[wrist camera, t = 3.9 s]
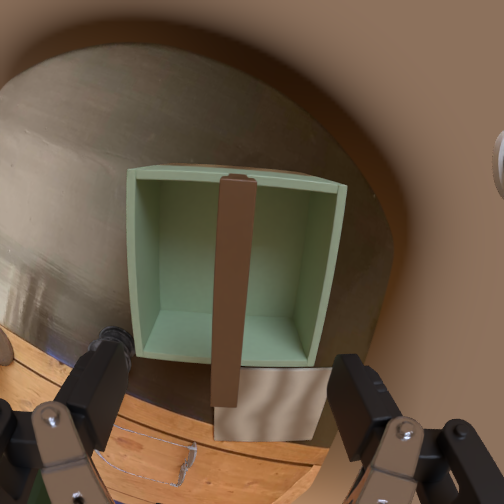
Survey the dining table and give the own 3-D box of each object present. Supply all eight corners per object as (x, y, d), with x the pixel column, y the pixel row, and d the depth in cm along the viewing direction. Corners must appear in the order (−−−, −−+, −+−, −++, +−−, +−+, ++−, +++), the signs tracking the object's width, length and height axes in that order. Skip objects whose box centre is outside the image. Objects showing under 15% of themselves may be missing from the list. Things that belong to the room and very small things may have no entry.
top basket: (317, 176, 24) (379, 195, 13) (296, 320, 28) (328, 406, 17) (155, 165, 23) (95, 174, 12) (155, 311, 27) (119, 395, 16)
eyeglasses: (180, 473, 46) (178, 489, 42) (91, 445, 43) (85, 460, 39) (200, 434, 42) (198, 453, 38) (91, 398, 39) (83, 415, 35)
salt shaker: (146, 345, 36) (121, 412, 25) (123, 368, 37) (96, 431, 26) (111, 315, 34) (72, 375, 23) (89, 340, 35) (52, 399, 24)
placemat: (334, 367, 39) (335, 369, 38) (311, 437, 43) (311, 439, 43) (215, 365, 37) (215, 368, 37) (214, 438, 42) (213, 440, 42)
